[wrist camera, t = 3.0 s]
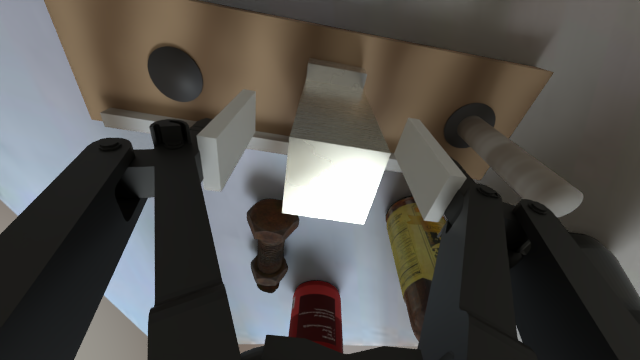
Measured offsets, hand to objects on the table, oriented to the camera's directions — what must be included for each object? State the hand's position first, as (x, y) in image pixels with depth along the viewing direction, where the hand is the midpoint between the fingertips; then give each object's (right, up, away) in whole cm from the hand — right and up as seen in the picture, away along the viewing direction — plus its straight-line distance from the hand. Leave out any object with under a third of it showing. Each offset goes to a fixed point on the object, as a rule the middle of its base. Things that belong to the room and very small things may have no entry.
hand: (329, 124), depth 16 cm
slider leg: (0, +3, +4) cm, 4 cm away
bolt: (-7, -12, +17) cm, 22 cm away
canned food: (-1, -22, +24) cm, 33 cm away
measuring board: (-2, +4, +5) cm, 7 cm away
